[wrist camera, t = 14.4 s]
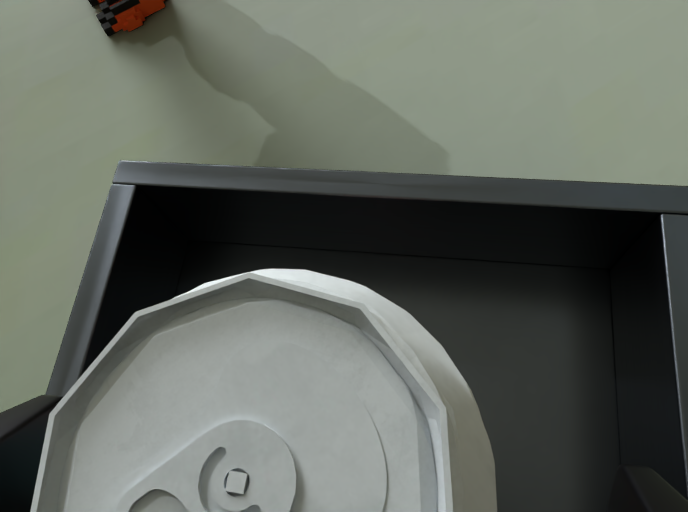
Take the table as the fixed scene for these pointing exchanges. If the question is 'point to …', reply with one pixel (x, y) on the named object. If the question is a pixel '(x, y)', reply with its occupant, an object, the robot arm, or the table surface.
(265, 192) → the tray
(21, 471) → the robot arm
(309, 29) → the table surface
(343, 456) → the beer can
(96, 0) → the toy animal
